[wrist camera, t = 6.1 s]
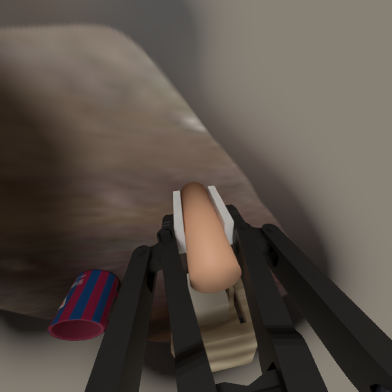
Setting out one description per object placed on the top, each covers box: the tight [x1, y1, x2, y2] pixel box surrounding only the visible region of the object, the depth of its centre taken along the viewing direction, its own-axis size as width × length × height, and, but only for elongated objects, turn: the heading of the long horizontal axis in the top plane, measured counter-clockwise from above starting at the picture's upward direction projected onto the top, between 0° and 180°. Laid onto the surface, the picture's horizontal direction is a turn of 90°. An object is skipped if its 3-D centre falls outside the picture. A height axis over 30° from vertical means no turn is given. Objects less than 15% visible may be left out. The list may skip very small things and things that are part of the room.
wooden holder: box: [171, 278, 257, 372], centre depth 28 cm, size 16×13×10 cm
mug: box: [48, 270, 119, 341], centre depth 24 cm, size 7×10×7 cm
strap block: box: [180, 182, 241, 327], centre depth 20 cm, size 24×6×11 cm, turn 5°
